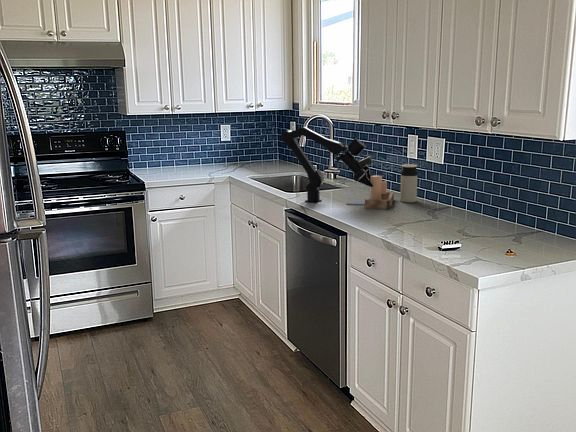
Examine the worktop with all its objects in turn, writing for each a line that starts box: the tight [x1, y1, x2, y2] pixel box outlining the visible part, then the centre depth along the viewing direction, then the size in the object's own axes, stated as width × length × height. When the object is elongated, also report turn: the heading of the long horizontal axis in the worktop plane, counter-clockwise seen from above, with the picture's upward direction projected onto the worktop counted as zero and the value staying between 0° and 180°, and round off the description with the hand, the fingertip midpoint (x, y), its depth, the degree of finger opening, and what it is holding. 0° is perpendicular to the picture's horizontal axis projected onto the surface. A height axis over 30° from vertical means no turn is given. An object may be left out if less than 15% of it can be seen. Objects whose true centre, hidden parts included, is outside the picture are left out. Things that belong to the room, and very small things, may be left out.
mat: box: [346, 199, 365, 206], centre depth 280 cm, size 10×10×1 cm
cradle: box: [364, 191, 395, 210], centre depth 277 cm, size 12×23×4 cm, turn 165°
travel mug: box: [399, 163, 419, 204], centre depth 280 cm, size 8×8×18 cm
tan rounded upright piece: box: [369, 174, 388, 200], centre depth 276 cm, size 8×6×14 cm
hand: (373, 184), depth 276 cm, fingers open, 9 cm apart
